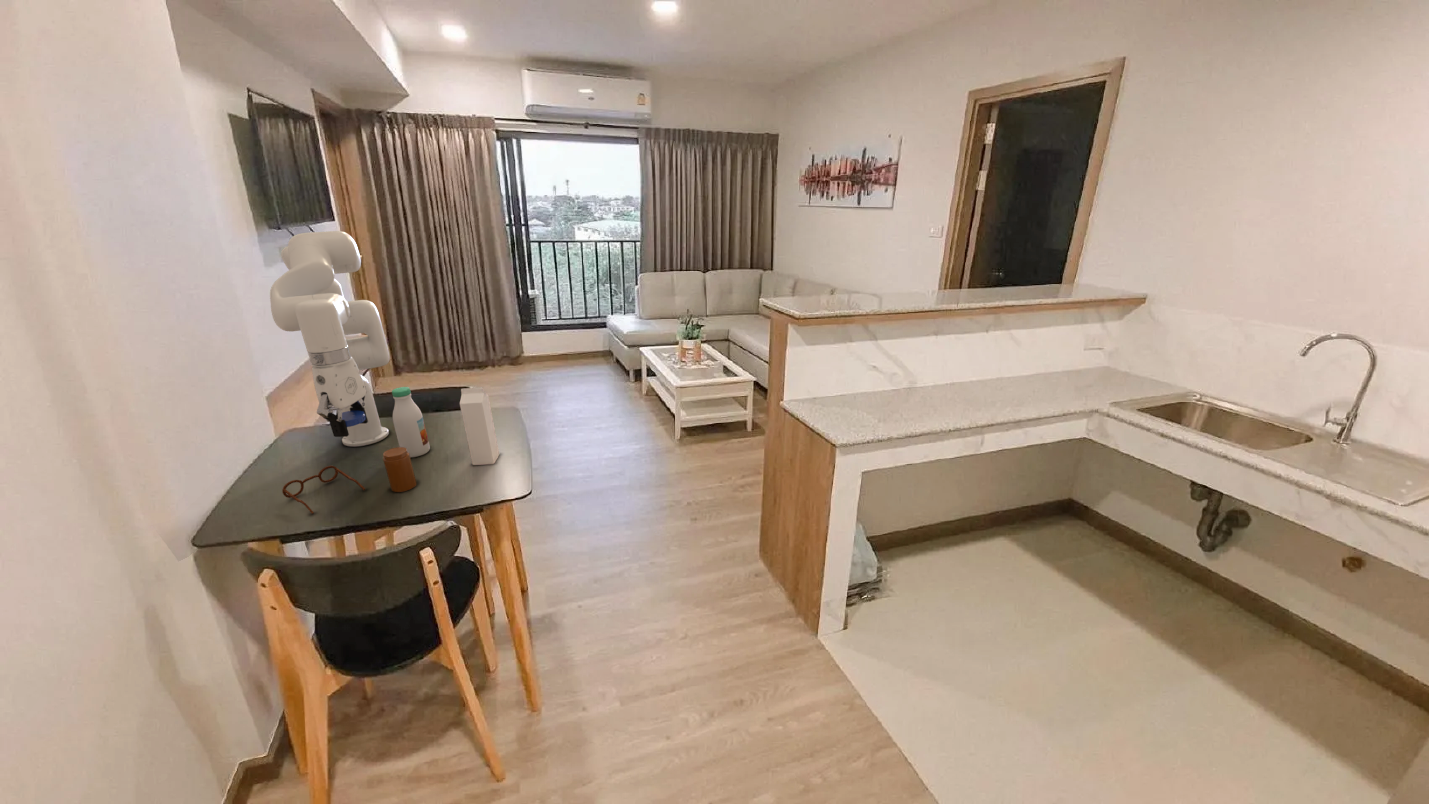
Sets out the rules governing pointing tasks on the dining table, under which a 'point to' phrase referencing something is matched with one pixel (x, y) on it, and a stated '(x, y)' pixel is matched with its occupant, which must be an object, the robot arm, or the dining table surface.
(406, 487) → the jar
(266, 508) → the dining table surface
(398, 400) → the milk bottle
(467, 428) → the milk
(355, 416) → the lid
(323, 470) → the glasses
